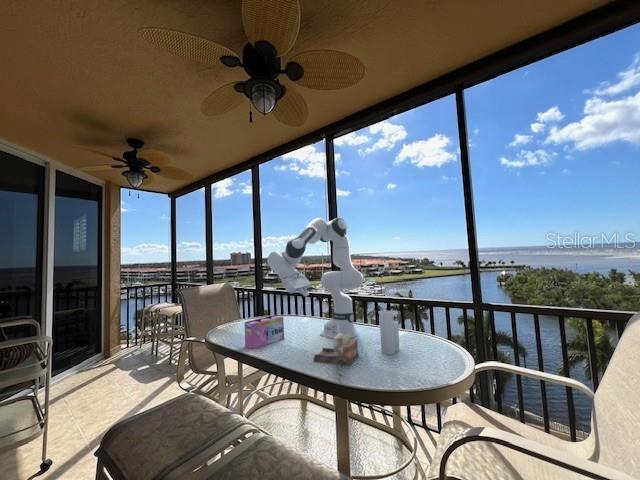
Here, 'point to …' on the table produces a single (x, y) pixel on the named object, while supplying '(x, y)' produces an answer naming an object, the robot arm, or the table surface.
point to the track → (328, 356)
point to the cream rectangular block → (340, 344)
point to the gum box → (264, 331)
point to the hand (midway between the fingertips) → (307, 295)
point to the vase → (388, 333)
